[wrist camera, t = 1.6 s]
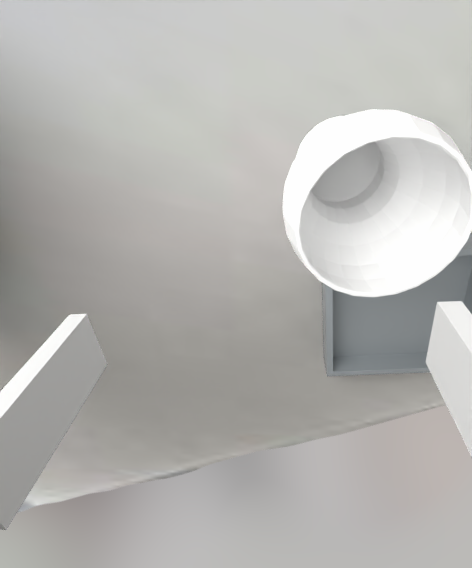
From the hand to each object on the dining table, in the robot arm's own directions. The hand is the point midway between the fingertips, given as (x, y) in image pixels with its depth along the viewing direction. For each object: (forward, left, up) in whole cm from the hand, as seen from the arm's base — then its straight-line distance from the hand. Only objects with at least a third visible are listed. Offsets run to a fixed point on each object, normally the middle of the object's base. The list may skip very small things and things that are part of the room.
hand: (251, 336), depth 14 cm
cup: (+7, +1, -23) cm, 24 cm away
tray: (+13, -15, -23) cm, 31 cm away
